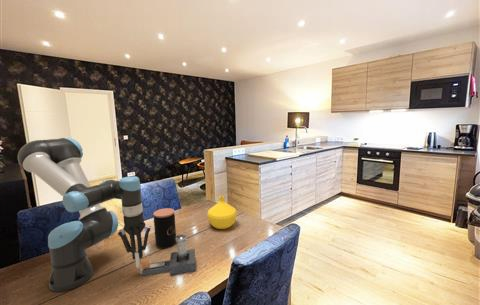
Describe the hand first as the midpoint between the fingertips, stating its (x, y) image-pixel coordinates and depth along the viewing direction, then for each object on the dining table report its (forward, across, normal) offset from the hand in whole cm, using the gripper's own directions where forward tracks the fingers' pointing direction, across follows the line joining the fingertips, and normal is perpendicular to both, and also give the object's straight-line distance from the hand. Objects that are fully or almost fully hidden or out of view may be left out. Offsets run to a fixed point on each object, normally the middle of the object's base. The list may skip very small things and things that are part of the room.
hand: (138, 265), depth 97 cm
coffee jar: (+4, +9, +22) cm, 25 cm away
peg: (+4, +18, 0) cm, 19 cm away
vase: (+4, +42, +35) cm, 55 cm away
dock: (+4, +13, +1) cm, 14 cm away
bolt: (+4, +6, 0) cm, 7 cm away
